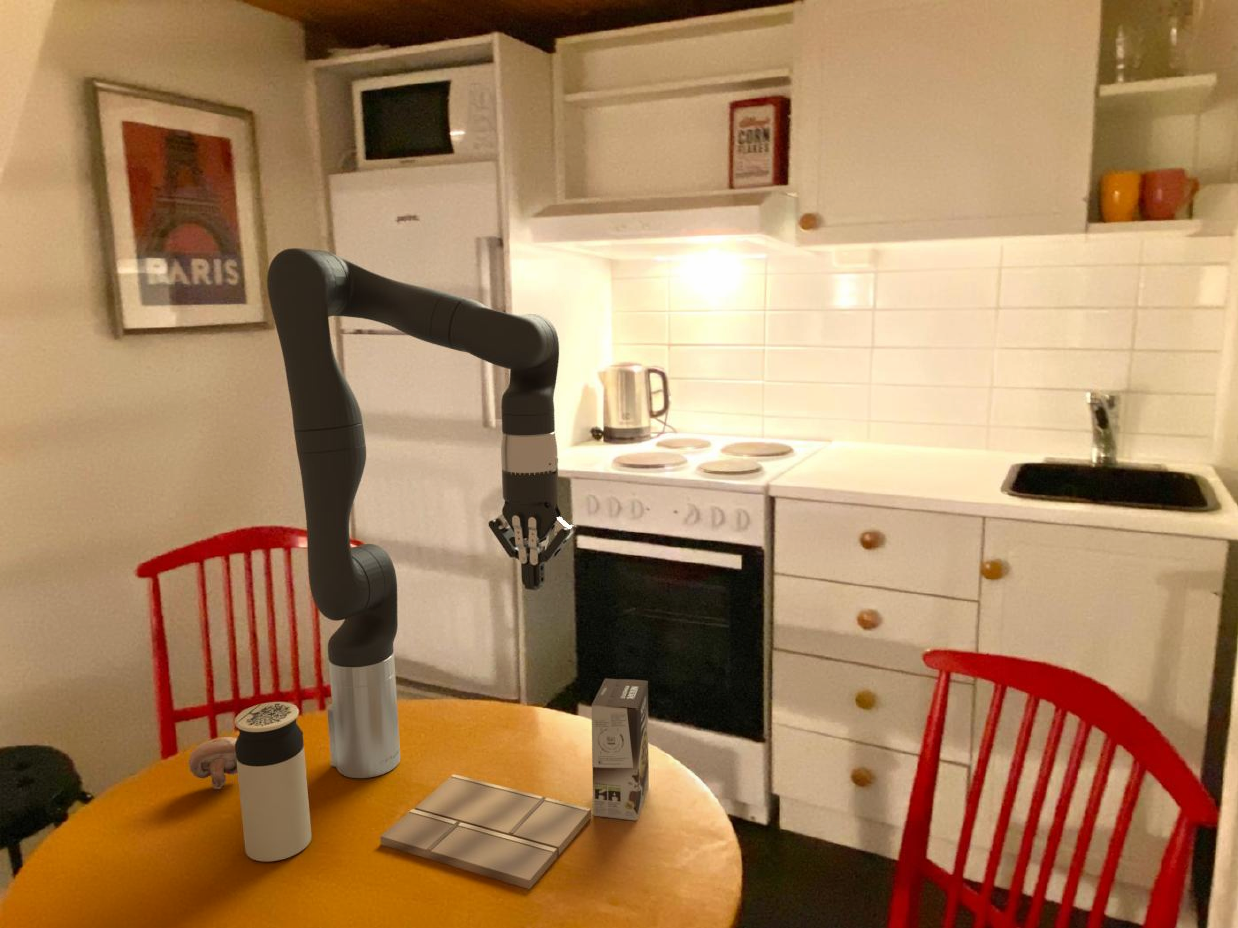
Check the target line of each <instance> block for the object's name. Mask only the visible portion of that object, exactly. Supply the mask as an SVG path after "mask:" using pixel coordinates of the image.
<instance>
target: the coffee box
mask: <svg viewBox="0 0 1238 928" xmlns="http://www.w3.org/2000/svg"><path fill="white" fill-rule="evenodd" d="M648 684H649V681H648V680H643V679H626V678H625V679H622V678H620V679H616V678H604V680H603V681H602V684H601V686H600V687H599V690H598V692H597V693H596V694H595V695H596V696H594V697H595V698H594V700H593V701H592V703H591V742H592V743H591V757H592V758H591V761H592V763H591V764H592V768H591V769H592V815H593V817H602V818H610V819H611V818H612V819H618V820H628V821H637V820H638V819H639V817H640V813H641V811H642V806H643V803H644V801H645V799H646V796H647V792H648V790H649V789H648V788H649V776H650V775H649V774H650V773H649V772H650V771H649V761H650V760H649V759H650V757H649V685H648Z"/></svg>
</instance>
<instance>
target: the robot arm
mask: <svg viewBox="0 0 1238 928" xmlns="http://www.w3.org/2000/svg"><path fill="white" fill-rule="evenodd" d="M268 267H269V268H268V270H267V278H266V284H267V285H266V288H267V294H268V295H267V296H268V300H269V305H270V308H271V312H272V316H273V319H274V321H273V322H274V325H275V328H276V332H277V335H278V339H279V344H280V348H281V353H282V358H283V362H284V368H285V369H284V370H285V375H286V382H287V383H286V384H287V388H288V393H289V400H290V406H291V414H292V422H293V423H292V424H293V425H292V426H293V431H294V432H293V434H294V441H295V447H296V453H297V459H298V465H299V470H300V475H301V485H302V491H303V493H302V494H303V502H304V509H305V520H306V524H305V525H306V542H307V566H308V568H307V569H308V570H307V572H308V573H307V574H308V582H309V588H310V592H311V596H312V599H313V601H314V604H315V606H316V608H317V609H318V611H319V612H320V613H321V614H322V615H323V617H325V618H327V619H328V620H330V621H334V622H335V621H336V622H338V621H343V622H342V623H341V625H340V626H339V627H338V628H337V629H336V631H335V632H333V634H331V636H330V638H329V639H328V643H327V658H328V669H329V672H328V673H329V680H330V681H329V682H330V683H329V684H330V695H331V703H330V704H328V706H327V708H326V713H327V714H326V715H327V724H328V725H327V726H328V736H329V738H328V739H329V748H330V749H329V750H330V751H329V752H330V764H331V766H332V767H334V768H336V769H337V771H338V773H340V775H343V776H344V777H348V778H354V779H369V778H373V777H378V776H381V775H384V774H386V773H388V772H390V771H392V770H394V769H395V768H396V767H397V766H398V765H399V764H400V762H401V748H400V747H401V746H400V727H399V713H398V712H399V711H398V700H397V699H398V698H397V695H398V694H397V683H396V668H395V665H396V664H395V651H394V643H395V639H396V636H397V634H398V633H397V632H398V625H399V624H398V622H399V621H398V620H399V619H398V617H399V616H398V580H397V574H396V568H395V566H394V563H393V561H392V559H391V557H390V555H389V554H388V552H387V551H386V550H384V548H382V547H381V546H379V545H377V544H373V543H364V544H363V543H362V544H360V545H356V546H353V547H351V538H350V521H351V520H350V519H351V514H352V513H351V512H352V509H353V506H354V501H355V499H356V496H357V492H358V490H359V487H360V484H361V482H362V481H361V480H362V477H363V475H364V471H365V466H366V463H367V447H366V445H367V444H366V437H365V431H364V423H363V422H364V421H363V417H362V412H361V408H360V405H359V403H358V400H357V398H356V396H355V394H354V392H353V390H352V387H351V386H350V384H349V383H348V380H347V379H346V377H345V375H344V374H343V371H342V370H341V368H340V366H339V363H338V362H337V359H336V356H335V352H334V349H333V344H332V339H331V338H332V337H331V330H330V322H329V318H330V317H347V318H356V319H364V320H369V321H373V322H377V323H380V324H384V325H387V326H389V327H391V328H394V329H396V330H398V331H400V332H401V333H404V334H406V335H408V336H411V337H413V338H415V339H418V340H420V341H422V342H425V343H429V344H433V345H436V346H440V347H444V348H447V349H450V350H454V351H458V352H463V353H467V354H470V355H472V356H474V357H475V358H478V359H481V360H483V361H485V362H487V363H490V364H492V365H495V366H496V367H501V368H504V369H508V370H510V371H509V372H510V373H509V385H508V387H507V388H506V390H504V392H503V393H502V396H501V403H500V404H501V405H500V406H501V407H500V408H501V430H502V431H501V433H502V434H501V445H500V458H501V461H500V462H501V480H502V481H501V483H502V485H501V486H502V498H503V500H504V504H503V506H502V509H501V514H499V516H497V517H495V518H494V519H492V520H490V521H488V527H489V528H490V531H492V533H493V534H494V536H495V538H496V539H497V541H498V543H500V545H501V546H502V548H503V549H504V551H505V552H506V554H507V556H509V558H512V559H513V558H515V559H517V560H518V561H519V562H520V564H521V565H520V566H521V567H520V568H521V582H522V585H524V589H525V590H530V591H538V590H539V589H541V587H542V586H543V585H544V583H545V579H546V578H545V576H546V574H545V573H546V571H545V563H548V562H549V561H550V560H553V559H555V558H556V557H557V556H558V555H559V554H560V553H561V551H562V550H563V548H564V547H565V546H566V544H567V543H568V542H569V541H570V539H571V538H572V536H573V535H574V534H575V533H576V529H577V527H576V526H575V525H574V524H568V523H567V522H566V521H565V520H564V519H563V518H562V513H561V509H560V507H559V504H558V499H559V467H558V466H559V465H558V463H559V458H558V445H557V439H556V431H555V430H556V427H555V425H556V424H555V423H556V421H555V403H554V394H555V389H556V384H557V378H558V377H557V376H558V368H559V362H560V361H559V360H560V341H559V337H558V333H557V330H556V328H555V326H554V325H553V323H552V322H551V321H550V320H549V319H548V318H547V317H545V316H543V315H540V314H536V313H528V314H519V315H518V314H512V313H508V312H503V311H499V310H497V309H492V308H488V307H487V306H486V305H484V304H483V303H481V302H480V301H477V300H473V299H471V298H466V297H463V296H459V295H456V294H452V293H449V292H445V291H440V290H436V289H433V288H428V287H423V286H419V285H413V284H410V283H406V282H402V281H398V280H394V279H392V278H388V277H387V276H386V277H385V276H383V275H380V274H377V273H375V272H373V271H370V270H368V269H366V268H363V267H362V266H360V265H357V264H355V263H353V262H351V261H350V260H347V259H344V258H343V257H340V256H339V255H336V254H334V253H332V252H330V251H326V250H320V249H312V248H311V249H310V248H309V249H308V248H299V247H297V248H296V247H292V248H285V249H283V250H281V251H280V252H278V253H277V254H276V255H275V256H274V257H273V259H272V261H271V262H270V264H269V266H268ZM553 529H554V531H553ZM552 531H553V535H554V537H553V539H552V540H551V542H550V543H549V539H550V538H549V537H550V534H551V533H552Z"/></svg>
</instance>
